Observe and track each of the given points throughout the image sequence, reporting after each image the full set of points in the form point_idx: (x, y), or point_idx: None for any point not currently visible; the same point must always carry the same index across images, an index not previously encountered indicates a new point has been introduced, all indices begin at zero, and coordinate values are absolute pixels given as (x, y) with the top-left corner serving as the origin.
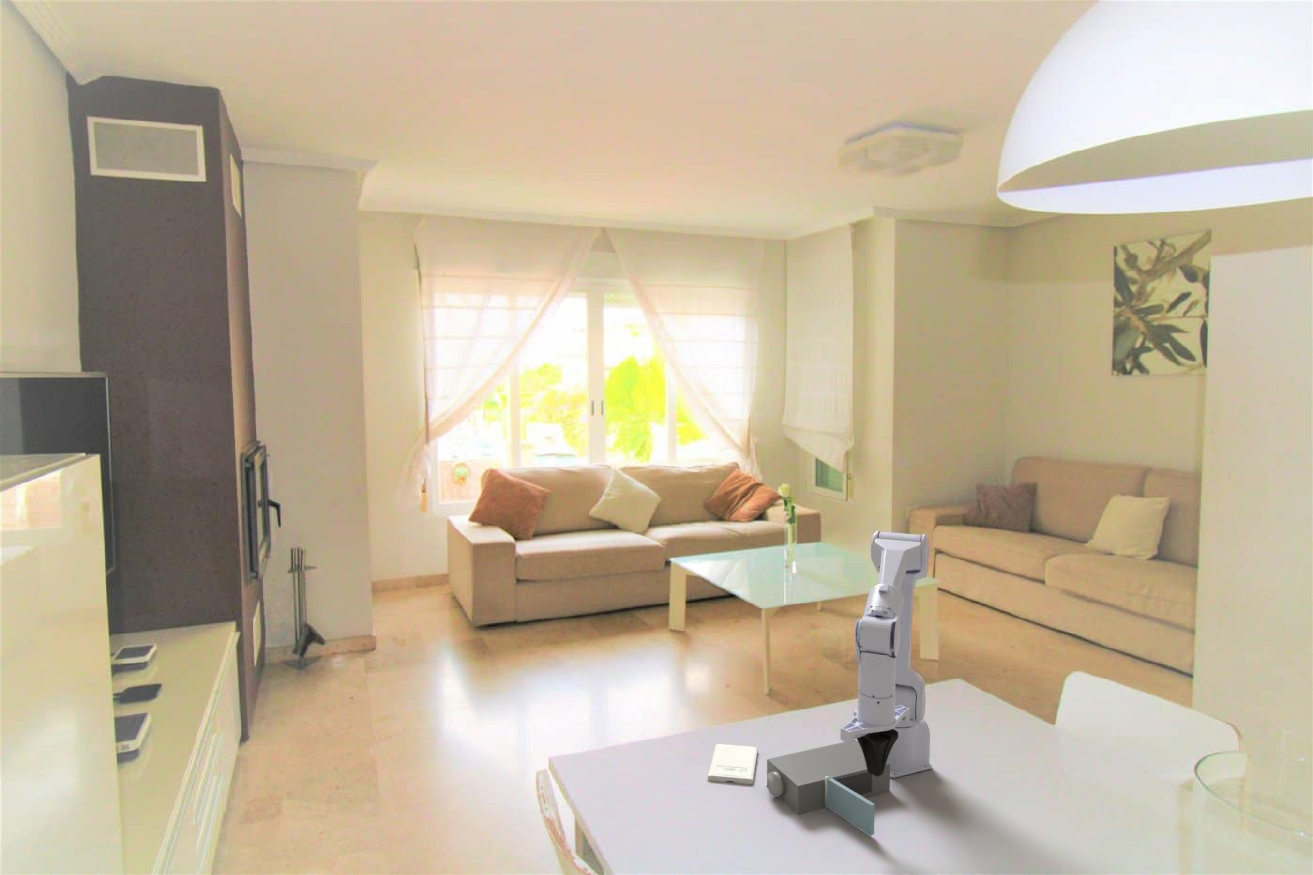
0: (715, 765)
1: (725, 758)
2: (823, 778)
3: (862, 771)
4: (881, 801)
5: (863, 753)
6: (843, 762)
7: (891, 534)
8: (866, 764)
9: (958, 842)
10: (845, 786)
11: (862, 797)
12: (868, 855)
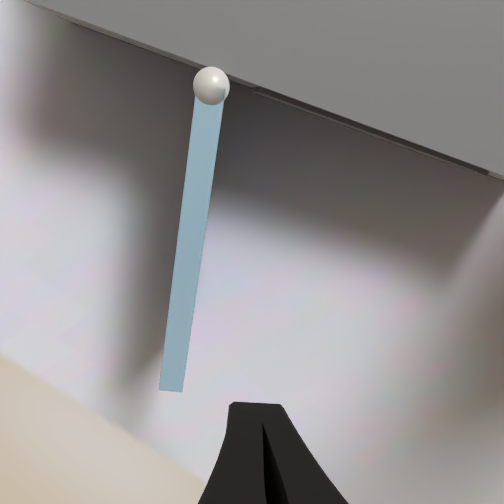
0: None
1: None
2: (209, 52)
3: (444, 153)
4: (418, 204)
5: (206, 487)
6: (463, 15)
7: None
8: (227, 429)
9: (358, 471)
10: (206, 216)
11: (185, 330)
12: (90, 360)
